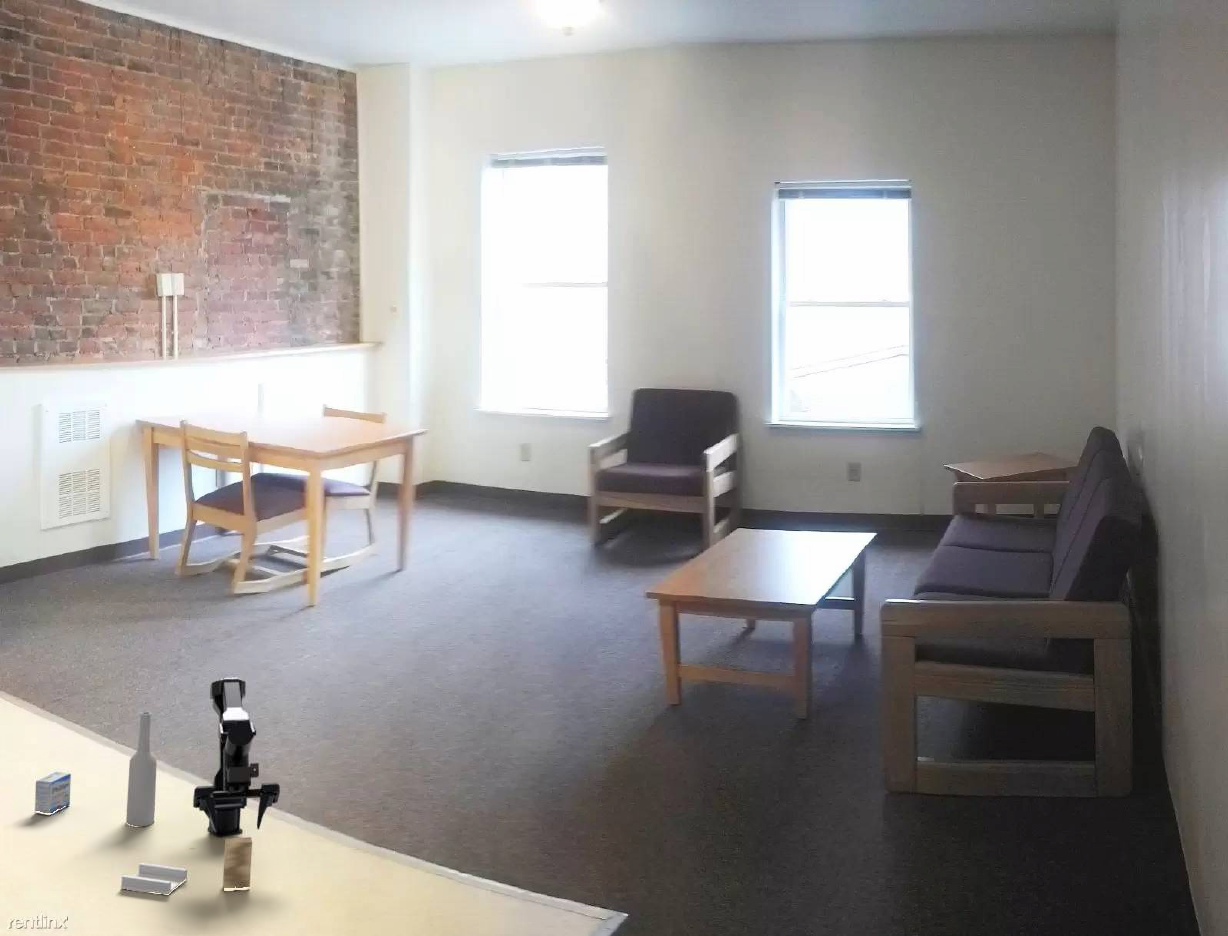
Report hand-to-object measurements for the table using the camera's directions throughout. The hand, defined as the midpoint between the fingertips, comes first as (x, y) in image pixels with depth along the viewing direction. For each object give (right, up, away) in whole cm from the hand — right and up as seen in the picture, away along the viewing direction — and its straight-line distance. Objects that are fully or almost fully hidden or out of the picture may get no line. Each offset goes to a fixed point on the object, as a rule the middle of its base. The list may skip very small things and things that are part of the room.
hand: (237, 830), depth 268 cm
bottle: (-34, -7, +29) cm, 45 cm away
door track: (-17, -11, -5) cm, 21 cm away
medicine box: (-58, -5, +33) cm, 67 cm away
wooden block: (+1, -12, -4) cm, 13 cm away
